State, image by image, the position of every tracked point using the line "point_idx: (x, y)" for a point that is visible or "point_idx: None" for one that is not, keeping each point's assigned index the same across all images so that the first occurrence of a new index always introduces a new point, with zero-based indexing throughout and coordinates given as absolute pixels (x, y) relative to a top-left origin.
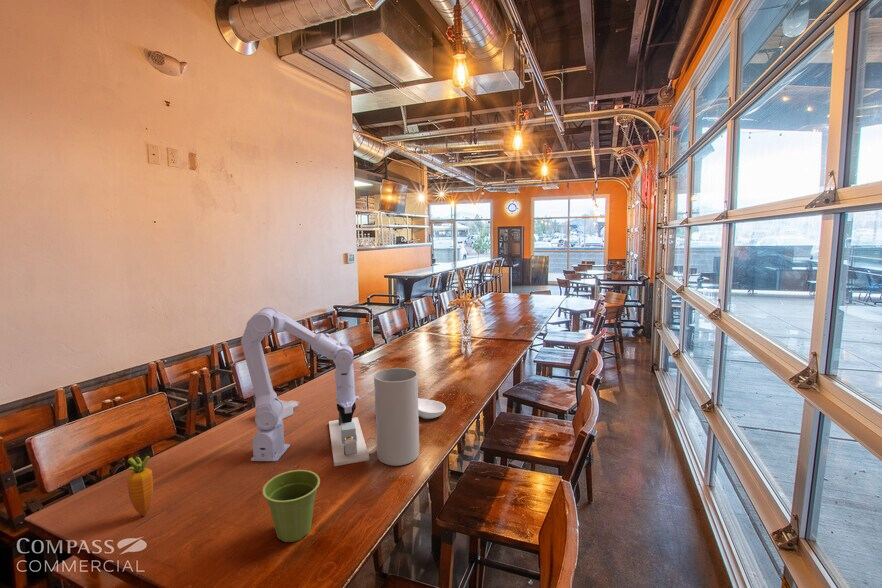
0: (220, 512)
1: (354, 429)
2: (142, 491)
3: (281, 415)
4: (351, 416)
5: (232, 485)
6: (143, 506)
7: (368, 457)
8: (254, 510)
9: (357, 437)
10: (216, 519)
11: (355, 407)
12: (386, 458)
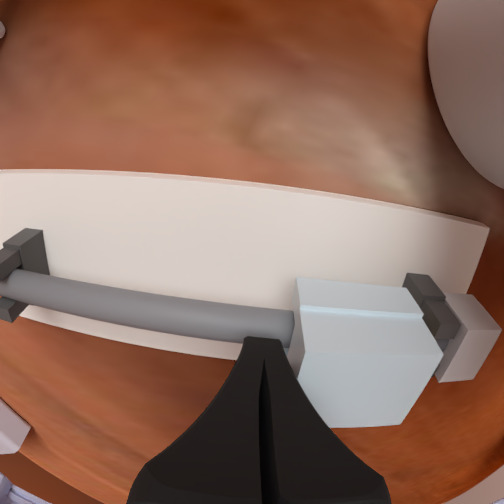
0: (403, 494)
1: (436, 356)
2: None
3: (2, 414)
4: (314, 415)
5: None
6: None
7: (487, 231)
8: (442, 466)
9: (241, 226)
10: (416, 492)
11: (384, 493)
12: None
